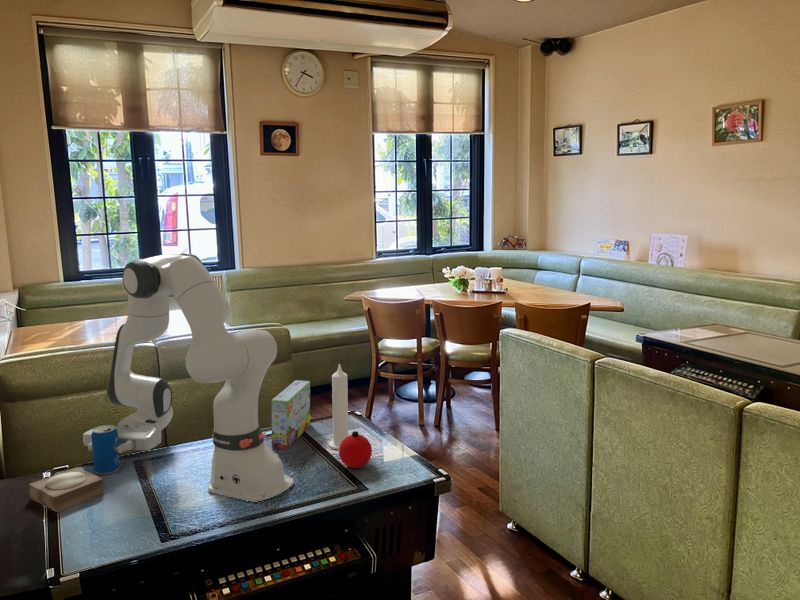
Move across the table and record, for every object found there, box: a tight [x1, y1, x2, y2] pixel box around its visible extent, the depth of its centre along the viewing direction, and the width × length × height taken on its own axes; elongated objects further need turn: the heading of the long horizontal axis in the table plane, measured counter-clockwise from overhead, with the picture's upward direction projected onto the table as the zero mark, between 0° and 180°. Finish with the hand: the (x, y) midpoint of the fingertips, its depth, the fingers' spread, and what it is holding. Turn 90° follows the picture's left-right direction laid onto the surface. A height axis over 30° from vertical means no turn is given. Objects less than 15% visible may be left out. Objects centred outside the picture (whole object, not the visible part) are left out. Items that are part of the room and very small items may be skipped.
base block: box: [28, 466, 105, 513], centre depth 158 cm, size 12×12×4 cm
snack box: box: [270, 379, 311, 450], centre depth 196 cm, size 21×6×15 cm, turn 170°
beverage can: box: [91, 424, 121, 475], centre depth 172 cm, size 6×6×12 cm
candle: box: [328, 363, 349, 451], centre depth 188 cm, size 7×7×25 cm
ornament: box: [338, 430, 373, 469], centre depth 175 cm, size 9×9×10 cm
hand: (103, 449), depth 171 cm, fingers closed on beverage can, 6 cm apart
